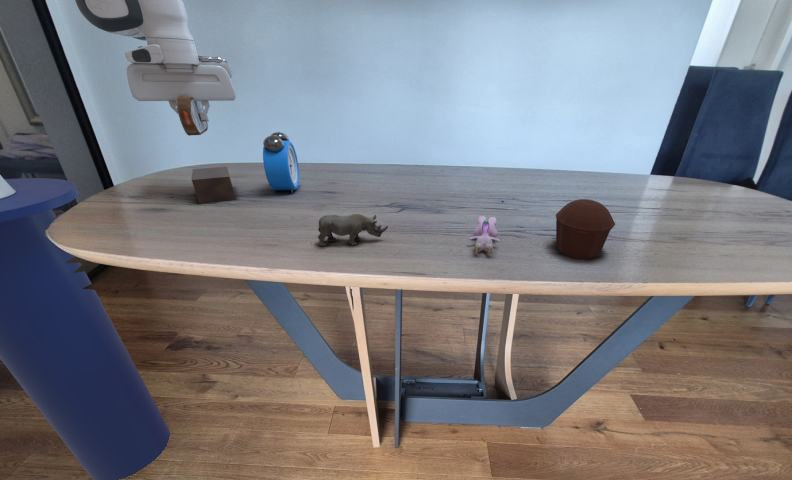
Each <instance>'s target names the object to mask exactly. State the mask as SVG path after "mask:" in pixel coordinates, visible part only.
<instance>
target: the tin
mask: <svg viewBox="0 0 792 480" xmlns="http://www.w3.org/2000/svg"><path fill="white" fill-rule="evenodd" d="M176 107H177V110H178V114H177V115H178V117H179V121H180V124H181V126H182V128H183V130H184V132H185V134H186V135H187V136H189V137H191V136H201V135H203V134H205V132H207V131H208V128H209V125H208V121H205V122H202V121H201V117H200V113H203V112H204V106H203V104H202V101H194V98H193V97H181V96H178V97H177V106H176Z"/></svg>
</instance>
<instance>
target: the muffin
mask: <svg viewBox="0 0 792 480" xmlns="http://www.w3.org/2000/svg"><path fill="white" fill-rule="evenodd" d="M555 219H556V220H555V237H556V238H555V248H556V249H557V250H558V251H559V253H560V254H562V255H565V256H568V257H570V258H572V259H582V260H591V259H596V258H600V255H601V253H602V251H603V248H604V246H605V243H606V241H607V240H608V237H609V234H610V232H611V230H612V229H613V228H614V227H615V226H616V222H615V221H614V219H613V217H612V214H611V213H610V211H609V209H608V208H607V207H606V206H605V205H603V203H601V202H599V201H596V200H593V199H587V198H585V199H584V198H578V199H574V200H572V201H570V202H568V203H567V204H565V205H564V206H563V207H562V208H560V209H559V211H558V212H557V213H556V214H555Z"/></svg>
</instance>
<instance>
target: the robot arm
mask: <svg viewBox="0 0 792 480" xmlns="http://www.w3.org/2000/svg"><path fill="white" fill-rule="evenodd" d="M74 2H75V5H76V6H77V8H78V11H79V12H80V13H81V14H82V16H83V17H84V18H85V19H86V20H87V21H88V22H89V23H90V24H91V25H93V26H94V27H96V28H97V29H99V30H102V31H104V32H106V33H109V34H113V35H118V36H119V35H120V36H124V37H128V38H129V37H130V38H133V39H137V40H140V41H144V42H145V41H146V43H147V44H146V45H144V46H142V45H141V46H138V47H136V48H132V49H128V50H126V51H125V52H124V55H125V58H126V60H127V62H129V63H130V64H129V65H127V67H126V78H127V83H128V87H129V90H130V93H131V96H132V98H133V99H135V100H136V101H137V102H168V103H169V106H170V108H171V109H172V110H173V111H174V112H175V113H176V114H177V115H179V114H178V110H177V97H178V96H181V97H193V98H194V101H201V102H202V104H203V107H204V108H203V110H204V112H203V113H200V117H201V121H202V122H205V121H207V122H210V120H209V117H208V111H209V109H210V102H215V101H216V102H217V101H219V102H224V101H225V102H227V101H231V102H232V101H235V100H236V98H237V93H236V91H235V90H236V89H235V87H234V84H233V82H232V77H233V71H232V67H231V64H230V63H229V62H228V61H227V60H226V59H224V58H222V57H221V56H207V55H206V56H205V55H199V54H198V49H197V45H196V42H195V39H194V35H192V33H191V31H190V27H189V15H188V12H187V9H186V5H185V3H184V0H74ZM4 179H5V178H4V177H3V176H2V175H1V174H0V199H1V198H4V197H7V196H10V195H12V194H14V193H15V192H16V190H14V189H13V188H12V187H11V186H10V185H9V184H8V183H7V182H6V181H5V180H4Z"/></svg>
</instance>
